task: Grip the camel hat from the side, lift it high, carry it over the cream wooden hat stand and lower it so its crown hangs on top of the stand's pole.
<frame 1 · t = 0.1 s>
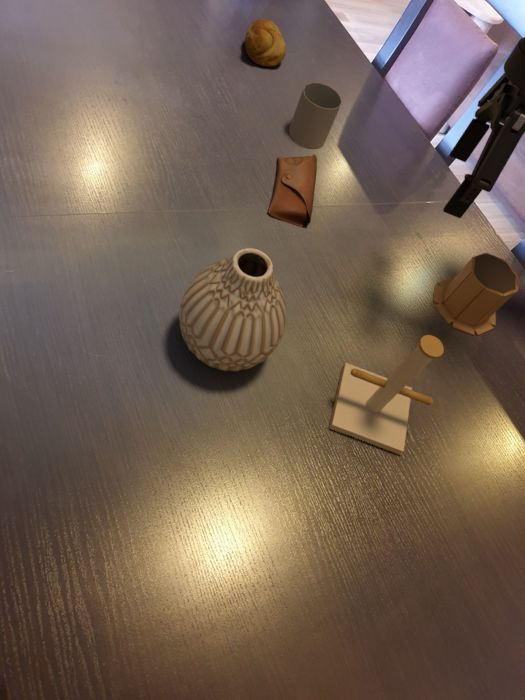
hand: (454, 184, 85), 26 cm above the table, tool pointing down, fingers open, 13 cm apart
vase: (222, 343, 91), on the table
sunglasses case: (291, 192, 114), on the table
cup: (306, 136, 124), on the table
bread roll: (261, 55, 136), on the table
hat stand: (370, 409, 91), on the table
hat: (464, 305, 109), on the table
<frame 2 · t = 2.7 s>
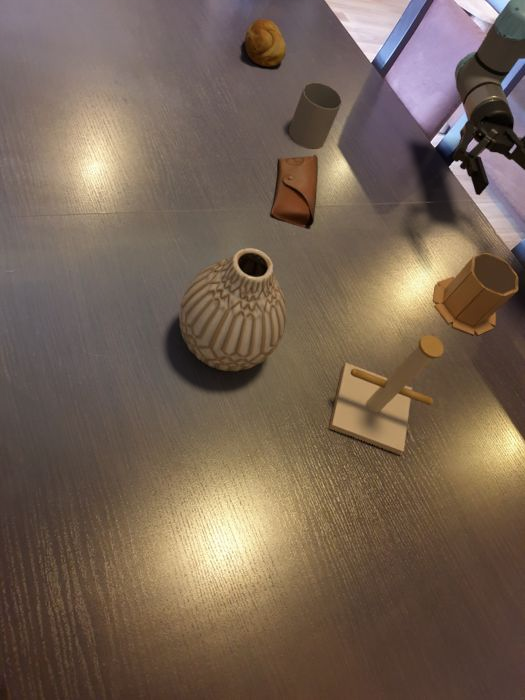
hand: (516, 196, 98), 20 cm above the table, tool horizontal, fingers open, 13 cm apart
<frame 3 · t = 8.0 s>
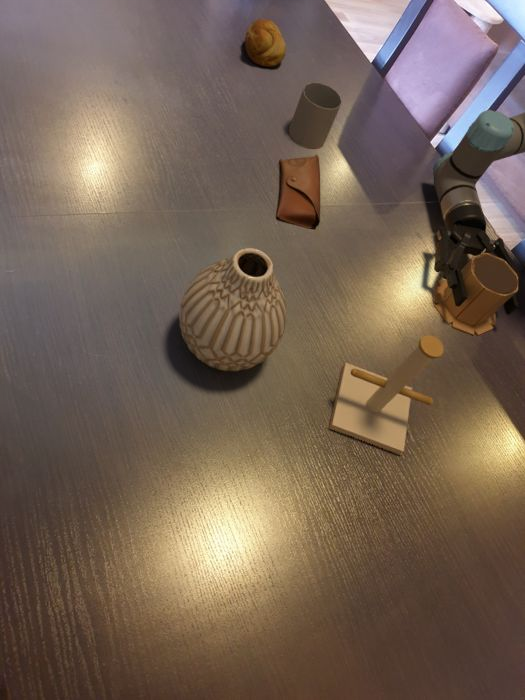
hand: (487, 306, 102), 6 cm above the table, tool horizontal, fingers closed on hat, 10 cm apart
hat: (464, 305, 109), on the table, touching gripper
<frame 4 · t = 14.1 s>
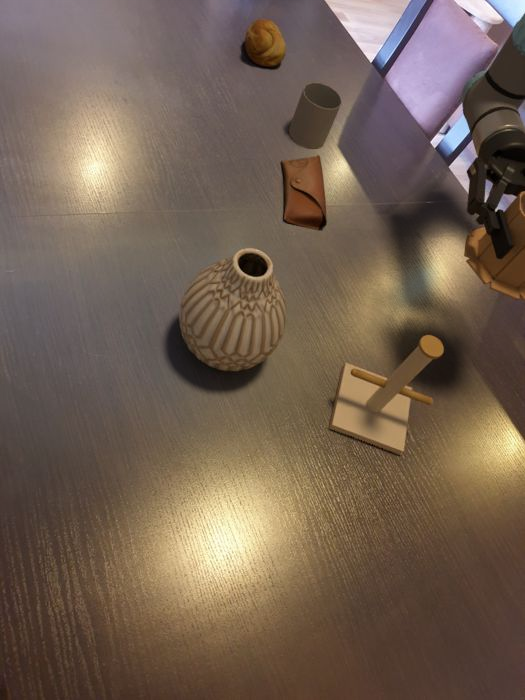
hat: (505, 262, 83), point 23 cm above the table, touching gripper
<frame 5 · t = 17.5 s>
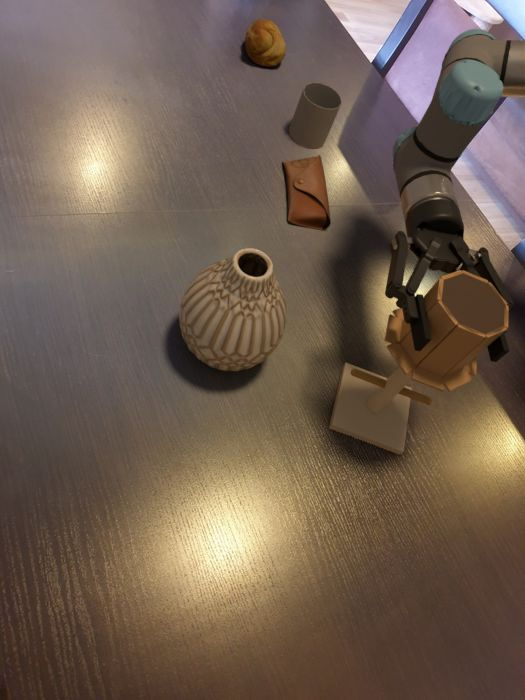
hand: (462, 350, 68), 26 cm above the table, tool horizontal, fingers closed on hat, 10 cm apart
hat: (431, 345, 75), point 20 cm above the table, touching gripper
when the fingers open (17 cm above the table, at t = 20.4 s): hat stays where it is, resting on hat stand.
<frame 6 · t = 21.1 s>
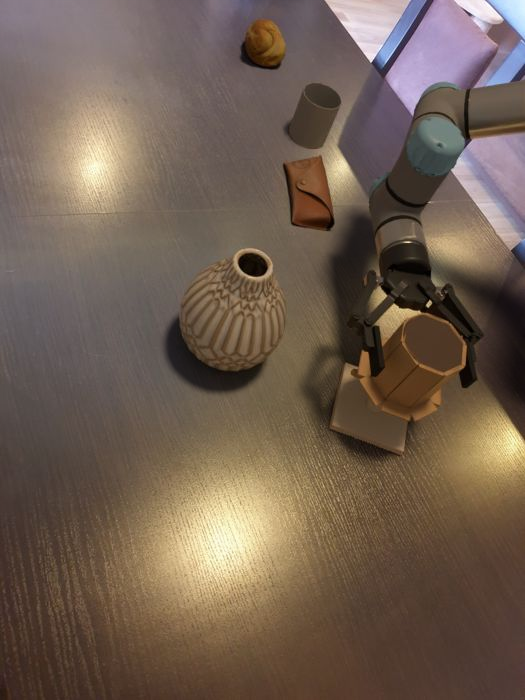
hand: (424, 378, 76), 17 cm above the table, tool horizontal, fingers open, 13 cm apart
hat: (399, 378, 83), point 11 cm above the table, touching hat stand
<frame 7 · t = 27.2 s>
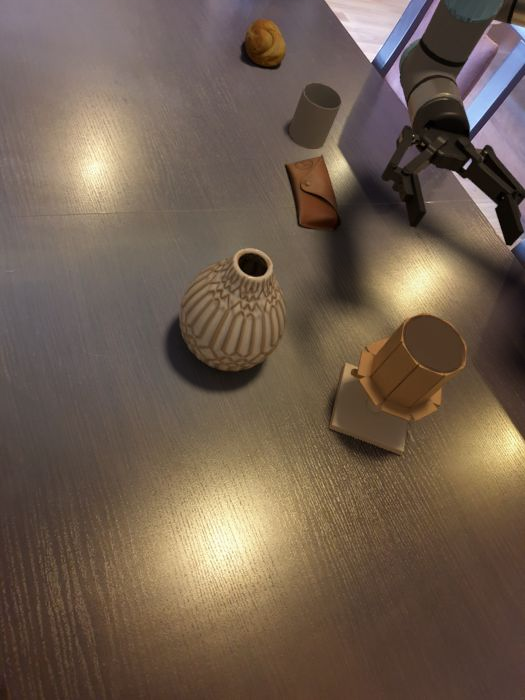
hand: (467, 229, 70), 32 cm above the table, tool horizontal, fingers open, 13 cm apart
at the end: hat 0.0 cm off-centre on the hat stand, point 10.6 cm above the hat stand's base; hat tilted 0°; the gripper is holding nothing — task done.
